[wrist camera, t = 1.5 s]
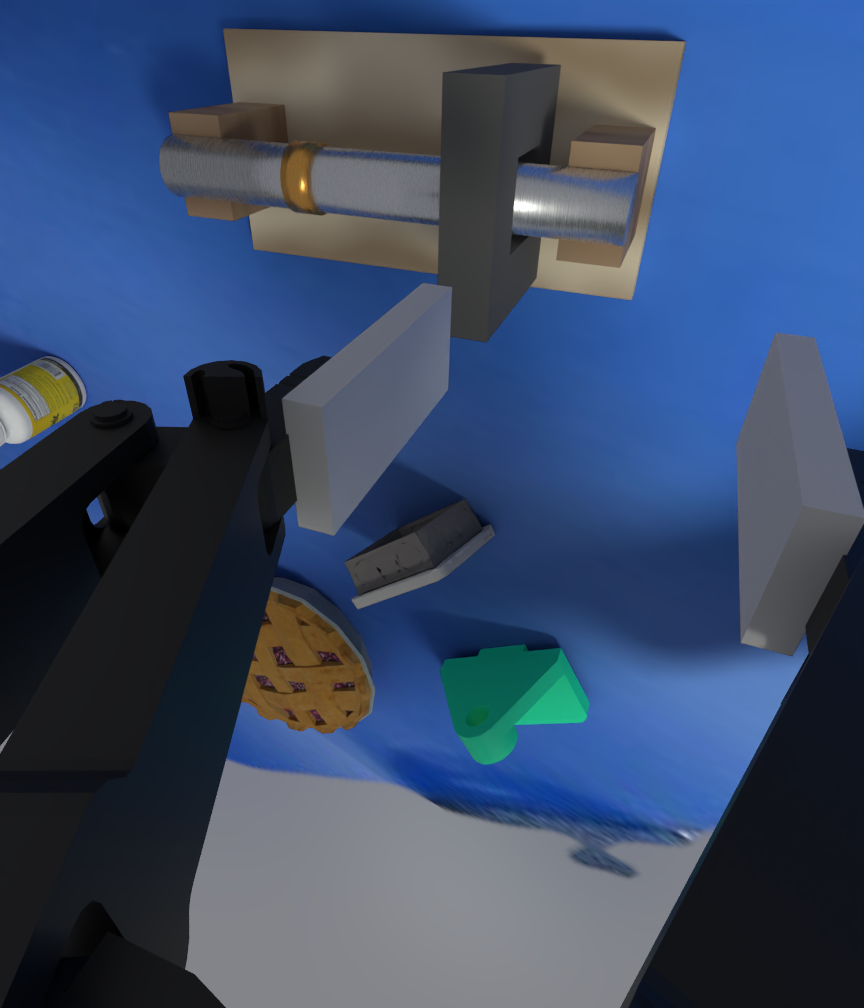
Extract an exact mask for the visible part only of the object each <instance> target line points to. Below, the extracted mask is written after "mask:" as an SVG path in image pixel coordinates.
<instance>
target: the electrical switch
mask: <svg viewBox="0 0 864 1008" xmlns="http://www.w3.org/2000/svg"><path fill="white" fill-rule="evenodd" d="M423 525H424V526H423ZM399 530H400V532H401V534H402V535H401V534H400V532H399ZM399 530H398V528H397V529H395V530H394V531H392V532H390V533H389V534H387V535H386V536H384V537H383V538H381V539H380V540H378V541H376V542H375V543H373V544H372V545H370V546H369V547H367V548H366V549H364V550H362V551H361V552H359V553H358V554H356V555H355V556H353V557H352V558H350V559H348V560H347V561H345V562H344V563H345V565H346V567H347V569H348V570H349V572H350V574H351V576H352V579H353V583H354V585H355V587H356V588H357V591H358V595H357V596H355V597H353V598H352V602H353V603H354V605H355V606H356V608H357V609H360V608H363V607H366V606H369V605H371V604H374V603H377V602H380V601H383V600H386V599H389V598H391V597H394V596H397V595H400V594H403V593H406V592H408V591H411V590H414V589H417V588H420V587H423V586H426V585H428V584H431V583H434V582H437V581H439V580H441V579H442V578H444V577H446V576H447V575H449V574H450V573H451V572H452V571H454V570H455V569H456V568H457V567H458V566H460V565H461V564H462V563H463V562H464V561H466V560H467V559H468V558H469V557H470V556H471V555H473V554H474V553H475V552H476V551H477V550H479V549H480V548H481V547H482V546H483V545H484V544H486V543H487V542H488V541H489V540H490V539H491V538H492V537H494V536H495V533H494V530H493V528H492V525H491V524H490V525H487V526H485V527H481V525H480V523H479V521H478V519H477V517H476V516H475V514H474V513H473V512H472V510H471V508H470V506H469V504H468V502H467V500H466V499H464V500H461V501H459V502H457V503H455V504H452V505H450V506H448V507H445V508H443V509H441V510H439V511H436V512H434V513H432V514H430V515H427V516H425V517H423V518H420V519H418V520H416V521H414V522H411V523H409V524H407V525H405V526H402V527H400V528H399Z"/></svg>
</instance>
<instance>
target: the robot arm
mask: <svg viewBox="0 0 864 1008" xmlns="http://www.w3.org/2000/svg"><path fill="white" fill-rule="evenodd" d="M451 301H452V287H448V286H440V285H433V284H426V283H422V284H421V285H420V286H418V287H417V288H416V289H415V290H414V291H412V292H411V293H410V294H409V295H408V296H406V297H405V298H404V299H403V300H401V301H400V302H399V303H398V304H397V305H395V306H394V307H393V308H392V309H390V310H389V311H388V312H387V313H386V314H384V315H383V316H382V317H381V318H380V319H378V320H377V321H376V322H375V323H373V324H372V325H371V326H370V327H369V328H367V329H366V330H365V331H364V332H363V333H361V334H360V335H359V336H358V337H356V338H355V339H354V340H353V341H352V342H350V343H349V344H348V345H347V346H345V347H344V348H343V349H342V350H341V351H339V352H338V353H337V354H336V355H335V356H333V357H327V356H321V357H319V358H316V359H313V360H311V361H308V362H305V363H303V364H302V365H300V366H299V367H298V368H297V369H295V370H294V371H293V372H291V373H290V376H286V377H285V378H284V379H283V380H281V381H280V382H279V384H276V385H275V386H274V387H272V388H271V389H270V390H268V391H267V392H266V393H265V389H264V383H263V376H262V370H261V369H259V368H258V367H257V366H256V365H254V364H251V363H248V362H244V361H234V360H229V361H216V362H212V363H207V364H203V365H200V366H198V367H196V368H193V369H191V370H190V371H189V372H187V373H186V374H185V375H184V376H183V377H184V381H185V385H186V390H187V394H188V399H189V403H190V407H191V412H192V416H193V420H192V422H191V424H190V425H189V427H156V425H155V422H154V418H153V414H152V411H151V408H149V407H148V406H147V405H146V404H144V403H140V402H136V401H124V400H114V401H113V402H112V400H111V401H105V402H103V403H101V404H99V405H96V406H93V407H90V408H88V409H86V410H84V411H83V412H81V413H79V414H78V415H76V416H75V417H73V418H72V419H71V420H69V421H68V422H66V423H65V424H64V425H62V426H61V427H59V428H58V429H57V430H55V431H54V432H52V433H51V434H50V435H48V436H47V437H45V438H44V439H43V440H41V441H40V442H38V443H37V444H36V445H34V446H33V447H32V448H30V449H29V450H27V451H26V452H25V453H23V454H22V455H20V456H19V457H18V458H16V459H15V460H13V461H12V462H11V463H9V464H8V465H6V466H5V467H4V468H2V469H1V470H0V745H1V744H2V743H3V742H4V741H5V739H6V738H7V737H8V736H9V735H10V734H11V732H12V731H13V730H14V731H13V732H12V734H11V736H10V738H9V739H8V741H7V743H6V745H5V746H4V748H3V750H2V752H1V753H0V1008H226V1007H225V1006H224V1005H223V1004H222V1003H221V1002H220V1001H219V1000H218V999H217V998H216V997H215V996H214V995H213V993H212V992H211V991H210V990H209V989H208V988H207V987H206V986H205V985H204V984H203V983H202V982H201V981H200V980H199V979H198V977H197V976H196V975H195V974H193V973H191V972H189V971H187V970H185V966H186V961H187V953H188V944H189V904H190V896H191V891H192V886H193V881H194V878H195V874H196V870H197V866H198V863H199V859H200V855H201V851H202V848H203V844H204V840H205V836H206V833H207V829H208V825H209V821H210V818H211V814H212V810H213V806H214V802H215V799H216V795H217V791H218V787H219V784H220V780H221V776H222V772H223V768H224V765H225V761H226V757H227V753H228V750H229V746H230V742H231V738H232V735H233V731H234V727H235V723H236V719H237V716H238V712H239V708H240V704H241V701H242V697H243V693H244V689H245V685H246V682H247V678H248V674H249V670H250V667H251V663H252V659H253V655H254V651H255V648H256V644H257V640H258V636H259V633H260V629H261V625H262V621H263V618H264V614H265V610H266V606H267V602H268V599H269V595H270V591H271V587H272V584H273V580H274V576H275V572H276V568H277V565H278V561H279V557H280V553H281V550H282V546H283V542H284V538H285V523H284V517H283V515H284V514H285V513H286V512H287V511H288V510H289V509H290V508H291V506H292V505H293V504H294V503H296V510H297V518H298V525H299V527H303V528H307V529H310V530H314V531H318V532H322V533H326V534H329V535H333V536H334V535H335V534H336V533H337V531H338V530H339V529H340V527H341V526H342V525H343V524H344V522H345V521H346V520H347V518H348V517H349V516H350V515H351V513H352V512H353V511H354V509H355V508H356V507H357V506H358V504H359V503H360V502H361V501H362V499H363V498H364V497H365V495H366V494H367V493H368V492H369V490H370V489H371V488H372V486H373V485H374V484H375V483H376V481H377V480H378V479H379V478H380V476H381V475H382V474H383V472H384V471H385V470H386V469H387V467H388V466H389V465H390V463H391V462H392V461H393V460H394V458H395V457H396V456H397V455H398V453H399V452H400V451H401V449H402V448H403V447H404V446H405V444H406V443H407V442H408V440H409V439H410V438H411V437H412V435H413V434H414V433H415V431H416V430H417V429H418V428H419V426H420V425H421V424H422V423H423V421H424V420H425V419H426V417H427V416H428V415H429V414H430V412H431V411H432V410H433V408H434V407H435V406H436V405H437V403H438V402H439V401H440V400H441V398H442V397H443V396H444V394H445V393H446V392H447V391H448V379H449V353H450V327H451ZM736 445H737V492H738V540H739V587H740V635H741V643H743V644H747V645H751V646H755V647H759V648H762V649H766V650H770V651H774V652H778V653H781V654H785V655H789V656H793V654H794V653H795V651H796V649H797V647H798V645H799V643H800V641H801V639H802V638H803V636H804V634H805V632H806V635H807V643H808V650H809V654H808V656H807V657H806V659H805V661H804V663H803V665H802V666H801V668H800V670H799V672H798V674H797V675H796V677H795V679H794V681H793V683H792V684H791V686H790V688H789V690H788V692H787V693H786V695H785V697H784V699H783V700H782V702H781V706H780V708H779V709H778V711H777V713H776V715H775V717H774V719H773V721H772V723H771V725H770V726H769V728H768V730H767V732H766V734H765V736H764V738H763V740H762V742H761V743H760V745H759V747H758V749H757V751H756V753H755V755H754V757H753V758H752V760H751V762H750V764H749V766H748V768H747V770H746V772H745V774H744V775H743V777H742V779H741V781H740V783H739V785H738V787H737V789H736V790H735V792H734V794H733V796H732V798H731V800H730V802H729V804H728V806H727V807H726V809H725V811H724V813H723V815H722V817H721V819H720V821H719V823H718V824H717V826H716V828H715V830H714V832H713V834H712V836H711V838H710V839H709V841H708V844H707V845H706V847H705V849H704V851H703V853H702V855H701V856H700V858H699V860H698V862H697V864H696V866H695V868H694V870H693V872H692V873H691V875H690V877H689V879H688V881H687V883H686V885H685V887H684V889H683V890H682V892H681V894H680V896H679V898H678V900H677V902H676V904H675V906H674V907H673V909H672V911H671V913H670V915H669V917H668V919H667V920H666V922H665V924H664V926H663V928H662V930H661V932H660V934H659V936H658V937H657V939H656V941H655V943H654V945H653V947H652V949H651V951H650V953H649V955H648V956H647V958H646V960H645V962H644V964H643V966H642V968H641V970H640V971H639V973H638V975H637V977H636V979H635V981H634V983H633V985H632V987H631V988H630V990H629V992H628V994H627V996H626V998H625V1000H624V1002H623V1003H622V1005H621V1007H620V1008H864V451H860V450H854V449H849V448H846V445H845V442H844V438H843V435H842V431H841V428H840V424H839V421H838V417H837V414H836V410H835V407H834V403H833V400H832V396H831V392H830V389H829V385H828V382H827V378H826V375H825V371H824V368H823V364H822V361H821V357H820V354H819V350H818V347H817V343H816V340H815V338H811V337H804V336H797V335H790V334H783V333H775V336H774V338H773V341H772V344H771V347H770V350H769V353H768V355H767V358H766V361H765V364H764V367H763V370H762V372H761V375H760V378H759V381H758V384H757V387H756V389H755V392H754V395H753V398H752V401H751V404H750V406H749V409H748V412H747V415H746V418H745V421H744V423H743V426H742V429H741V432H740V435H739V438H738V440H737V443H736ZM96 497H98V500H99V503H100V506H101V509H102V511H103V514H104V517H103V518H102V519H101V520H100V521H99V522H98V523H97V524H95V525H93V524H92V522H91V521H90V518H89V516H88V513H87V510H86V509H87V507H88V506H89V504H90V503H91V502H92V501H93V500H94V499H95V498H96Z"/></svg>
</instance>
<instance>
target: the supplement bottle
mask: <svg viewBox="0 0 864 1008" xmlns="http://www.w3.org/2000/svg"><path fill="white" fill-rule="evenodd" d="M85 401H86V390H85V387H84V384H83V382H82V380H81V378H80V377H79V375H78V374H77V373H76V371H75V370H74V369H73V368H72V367H71V366H70V365H69V364H67V363H66V362H64V361H63V360H61V359H59V358H56V357H52V356H45V357H42V358H40V359H38V360H36V361H34V362H31V363H29V364H27V365H25V366H23V367H21V368H19V369H17V370H15V371H13V372H11V373H9V374H7V375H5V376H3V377H1V378H0V446H1V445H3V444H4V443H5V442H6V443H11V444H18V443H22V442H24V441H26V440H28V439H30V438H32V437H33V436H35V435H37V434H38V433H40V432H42V431H43V430H45V429H47V428H49V427H50V426H52V425H54V424H55V423H57V422H59V421H60V420H62V419H64V418H65V417H67V416H68V415H70V414H72V413H74V412H75V411H77V410H78V409H80V408H81V407H82V406H83V405H84V404H85Z"/></svg>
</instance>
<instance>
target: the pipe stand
mask: <svg viewBox="0 0 864 1008" xmlns="http://www.w3.org/2000/svg"><path fill="white" fill-rule="evenodd" d="M223 33H224V40H225V47H226V54H227V61H228V68H229V76H230V83H231V90H232V97H233V103H230V104H223V105H215V106H208V107H201V108H194V109H187V110H180V111H173V112H168V113H169V118H170V123H171V128H172V133H173V134H175V135H188V136H200V137H212V138H229V139H241V140H253V141H265V142H277V143H291V142H292V141H307V142H320V143H324V144H326V145H327V146H328V147H338V148H351V149H363V150H375V151H387V152H399V153H412V154H424V155H436V156H441V118H442V77H443V72H449V71H456V70H464V69H471V68H478V67H485V66H492V65H499V64H507V63H531V64H556V65H561V70H560V79H559V87H558V96H557V105H556V114H555V122H554V131H553V140H552V148H551V157H550V165H558V166H568V167H577V168H589V169H601V170H613V171H626V172H638V176H639V179H638V187H637V193H636V199H635V204H634V209H633V214H632V219H631V223H630V227H629V231H628V235H627V239H626V242H625V245H624V247H622V246H614V245H605V244H596V243H587V242H578V241H569V240H561V239H552V238H543V237H541V244H540V253H539V261H538V270H537V278H536V280H535V281H534V282H533V283H532V285H531V286H530V287H537V288H544V289H552V290H559V291H567V292H574V293H582V294H589V295H596V296H604V297H611V298H619V299H626V300H632V297H633V294H634V291H635V286H636V282H637V277H638V272H639V267H640V262H641V257H642V253H643V248H644V243H645V238H646V233H647V228H648V224H649V219H650V214H651V209H652V204H653V200H654V195H655V190H656V185H657V180H658V175H659V171H660V166H661V161H662V156H663V151H664V147H665V142H666V137H667V132H668V127H669V122H670V118H671V113H672V108H673V103H674V98H675V93H676V89H677V84H678V79H679V74H680V69H681V65H682V60H683V55H684V50H685V45H686V41H656V40H620V39H585V38H549V37H514V36H478V35H443V34H407V33H372V32H336V31H301V30H265V29H223ZM185 201H186V206H187V211H188V215H189V216H198V217H206V218H214V219H222V220H230V221H235V220H237V219H240V218H243V217H245V216H248V215H249V218H250V225H251V232H252V239H253V247H254V249H255V250H262V251H270V252H277V253H285V254H292V255H299V256H307V257H314V258H322V259H329V260H337V261H344V262H351V263H359V264H366V265H374V266H381V267H389V268H396V269H403V270H411V271H418V272H426V273H433V274H438V241H439V226H437V225H428V224H419V223H410V222H401V221H393V220H384V219H375V218H366V217H357V216H348V215H339V214H331V213H327V214H325V215H323V216H320V215H311V214H303V213H296V212H293V211H292V210H291V209H286V208H278V207H269V206H260V205H251V204H242V203H233V202H225V201H216V200H207V199H198V198H189V197H185Z"/></svg>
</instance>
